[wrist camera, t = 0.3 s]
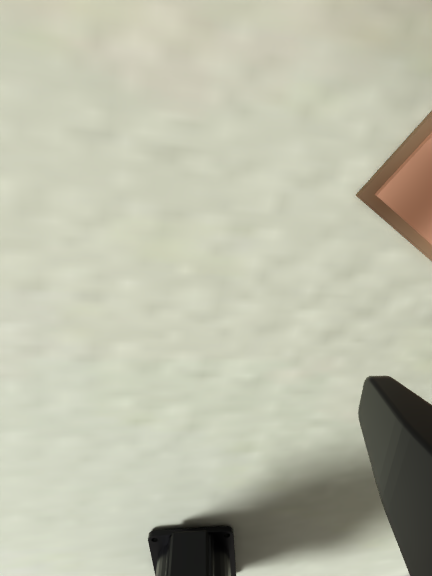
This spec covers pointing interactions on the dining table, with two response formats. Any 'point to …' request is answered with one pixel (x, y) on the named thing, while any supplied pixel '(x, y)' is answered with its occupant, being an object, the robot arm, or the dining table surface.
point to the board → (406, 189)
